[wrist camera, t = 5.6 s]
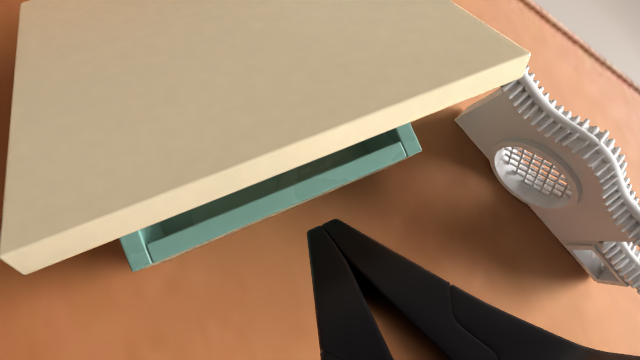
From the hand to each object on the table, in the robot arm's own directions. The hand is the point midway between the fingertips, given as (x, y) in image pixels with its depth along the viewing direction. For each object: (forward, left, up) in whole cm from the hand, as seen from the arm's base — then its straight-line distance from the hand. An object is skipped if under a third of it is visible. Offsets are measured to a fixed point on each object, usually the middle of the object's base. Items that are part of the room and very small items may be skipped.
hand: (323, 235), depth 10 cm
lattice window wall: (-8, -11, -9) cm, 16 cm away
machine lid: (+6, -2, -1) cm, 6 cm away
